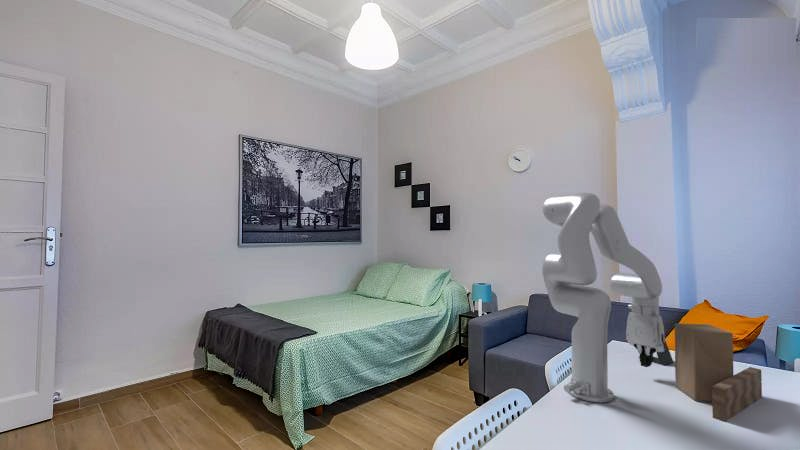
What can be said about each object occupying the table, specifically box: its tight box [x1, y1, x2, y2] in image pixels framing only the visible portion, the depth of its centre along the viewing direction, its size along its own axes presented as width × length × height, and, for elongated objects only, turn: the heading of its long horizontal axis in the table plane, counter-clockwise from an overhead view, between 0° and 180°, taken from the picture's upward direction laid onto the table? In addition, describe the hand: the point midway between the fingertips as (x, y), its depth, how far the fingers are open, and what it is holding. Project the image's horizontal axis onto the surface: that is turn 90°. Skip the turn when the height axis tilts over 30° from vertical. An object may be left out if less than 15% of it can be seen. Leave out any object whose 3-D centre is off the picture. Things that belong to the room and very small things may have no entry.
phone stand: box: [638, 340, 675, 366], centre depth 138 cm, size 9×6×12 cm, turn 27°
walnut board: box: [711, 366, 763, 422], centre depth 101 cm, size 28×2×8 cm, turn 121°
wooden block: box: [674, 322, 734, 403], centre depth 108 cm, size 10×10×20 cm
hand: (645, 365), depth 121 cm, fingers closed
